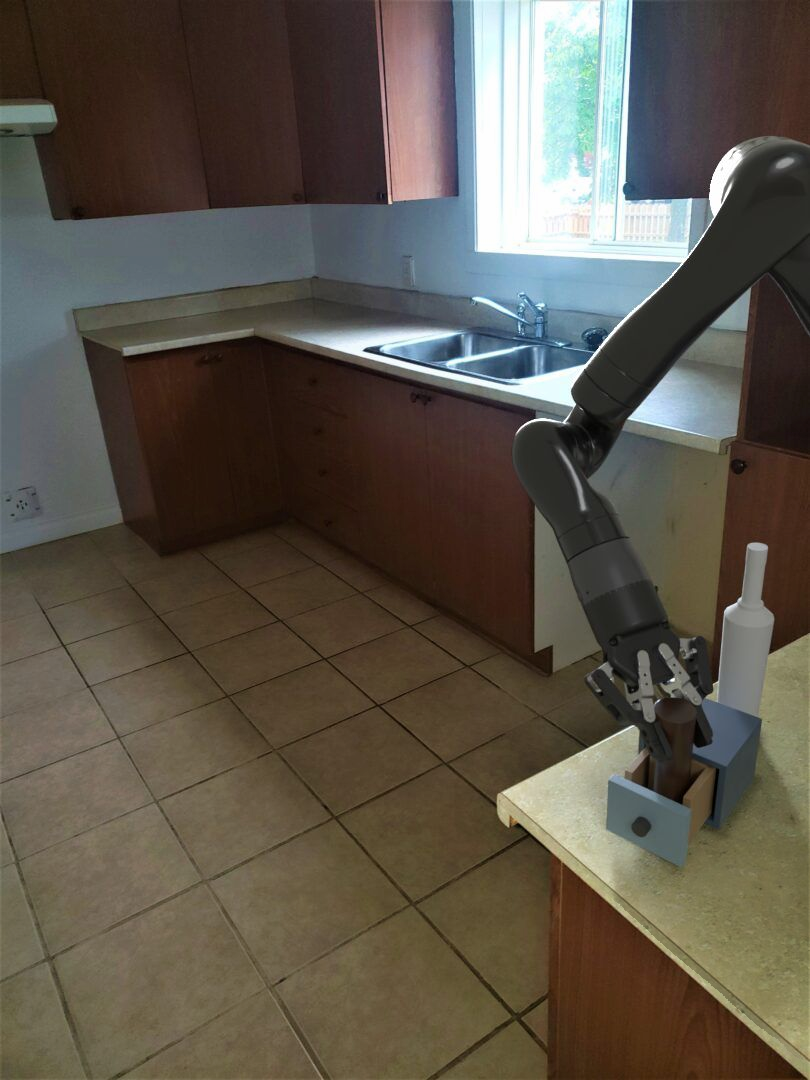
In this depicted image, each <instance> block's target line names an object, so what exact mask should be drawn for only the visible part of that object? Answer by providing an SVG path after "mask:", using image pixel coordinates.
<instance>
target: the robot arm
mask: <svg viewBox="0 0 810 1080" xmlns="http://www.w3.org/2000/svg"><path fill="white" fill-rule="evenodd" d="M709 200H710V201H709V202H710V208H711V212H712V215H713V218H712V220H711V222H710V223H709V225H708V227H707V228H706V230H705V231H704V233H703V234H702V236H701V238H700V239H699V241H698V242H697V244H696V245H695V247H694V248H693V249H692V250H691V252H690V253H689V254H688V256H687V257H686V258H685V259H684V261H683V262H682V263H681V264H680V266H679V267H678V268H677V269H676V270H675V271H674V272H673V273H672V275H671V276H669V278H668V279H667V280H666V281H664V283H662V285H660V287H658V289H656V290H655V291H654V292H653V293H652V294H651V295H650V296H648V297H647V298H646V299H645V300H644V301H642V303H641V304H639V305H638V306H637V307H636V308H634V310H632V311H631V312H630V313H629V314H628V315H627V316H626V317H625V318H624V319H623V320H622V321H621V322H620V323H619V324H618V325H617V326H616V327H615V328H614V329H613V331H612V332H611V333H610V334H608V337H606V339H605V340H603V342H602V344H601V345H600V346H599V347H598V349H597V350H596V351H595V353H593V355H592V356H591V357H590V359H589V360H588V361H587V362H586V364H585V365H584V366H583V367H582V369H581V370H580V371H579V373H578V374H577V375H576V377H575V378H574V380H573V381H572V384H571V387H570V395H571V397H572V400H573V402H574V403H575V404H574V406H573V407H572V409H571V411H570V413H569V414H568V415H567V417H566V418H565V419H564V420H563V421H560V420H559V421H558V420H555V419H547V418H538V419H532V420H530V421H527V422H526V423H524V424H523V425H522V426H520V427H519V429H518V430H517V431H516V432H515V435H514V437H513V440H512V443H511V452H510V455H511V462H512V467H513V471H514V473H515V475H516V477H517V479H518V481H519V483H520V485H521V486H522V488H523V490H524V491H525V493H526V495H527V496H528V497H529V499H530V500H531V502H532V503H533V504H534V506H535V507H536V509H537V511H539V513H540V514H541V516H542V517H543V518H544V519H545V521H546V522H547V523H548V524H549V526H550V528H551V529H552V531H553V534H554V536H555V539H556V542H557V544H558V546H559V549H560V551H561V554H562V556H563V558H564V561H565V563H566V566H567V569H568V572H569V575H570V579H571V582H572V586H573V588H574V590H575V593H576V597H577V599H578V602H579V603H580V605H581V607H582V610H583V613H584V615H585V617H586V619H587V622H588V624H589V626H590V629H591V632H592V633H593V636H594V638H595V641H596V643H597V645H599V647H600V648H601V650H602V664H601V665H600V666H599V667H598V668H596V669H595V670H593V671H591V672H590V673H587V674H586V675H585V676H584V677H583V682H584V684H585V685H586V687H587V688H588V689H589V690H590V691H591V693H592V694H593V695H594V697H595V698H596V699H597V701H598V702H599V703H600V704H601V706H602V707H603V708H604V709H605V711H606V712H607V713H608V714H609V716H610V717H611V718H612V719H613V721H614V722H615V723H616V725H618V726H634V727H636V728H637V730H638V731H639V732H640V733H641V736H642V738H643V740H644V743H645V745H646V748H647V750H648V752H649V754H650V755H651V757H652V758H656V760H657V761H658V762H659V763H661V762H665V761H668V760H671V759H673V758H674V755H673V752H672V750H671V748H670V745H669V743H668V741H667V738H666V736H665V734H664V731H663V729H662V727H661V724H660V722H659V721H657V722H655V718H656V716H655V710H654V699H653V698H654V696H655V691H654V690H655V689H654V685H659V686H660V687H661V688H662V690H663V691H664V692H666V693H667V694H669V695H670V697H671V696H672V697H674V698H680V699H683V700H686V701H688V702H690V703H691V704H692V705H693V706H694V707H695V709H696V712H697V714H696V724H695V735H694V745H695V746H696V747H697V748H701V747H705V746H708V745H710V744H712V743H713V741H712V738H711V737H713V731H712V728H711V726H710V724H709V722H708V720H707V717H706V715H705V713H704V711H703V708H702V701H703V699H704V698H706V697H708V696H709V695H711V694H713V693H714V690H715V689H714V688H715V687H714V682H713V677H712V669H711V663H710V658H709V652H708V645H707V641H706V638H705V637H703V636H702V635H697V636H696V637H693V638H684V637H683V638H682V637H679V636H678V634H676V632H674V631H673V629H671V627H670V624H669V618H668V613H667V611H666V609H665V607H664V605H663V603H662V600H661V598H660V596H659V594H658V591H657V589H656V587H655V585H654V583H653V580H652V579H651V577H650V574H649V572H648V569H647V567H646V565H645V563H644V560H643V559H642V557H641V555H640V553H639V552H638V550H637V548H636V547H635V545H634V544H633V542H632V540H631V538H630V535H629V533H628V531H627V529H626V527H625V524H624V522H623V520H622V518H621V516H620V513H619V511H618V510H617V507H616V506H615V504H614V502H613V501H612V499H611V498H610V497H609V496H608V495H606V494H604V493H603V492H601V491H598V489H595V488H594V487H593V485H591V484H590V482H589V479H590V478H591V477H592V476H593V475H594V474H595V473H597V472H598V470H599V469H600V468H601V467H602V466H603V464H604V463H605V461H606V459H607V458H608V456H609V454H610V453H611V451H612V449H613V447H614V445H615V444H616V442H617V440H618V439H619V436H620V434H621V432H622V430H623V429H624V426H625V424H626V423H627V420H628V419H629V418H630V417H631V416H632V415H633V414H634V413H635V412H636V411H637V409H638V408H639V407H640V406H641V405H642V404H643V403H644V401H646V400H647V398H648V397H649V396H650V395H651V394H652V392H653V391H654V390H655V389H656V387H657V386H659V384H660V383H661V381H662V380H663V379H664V378H665V377H666V376H667V374H669V372H670V371H671V370H672V369H673V367H675V365H676V364H677V363H678V362H679V360H681V358H682V357H683V356H684V355H685V354H686V352H688V351H689V349H690V348H691V347H692V346H693V345H694V344H695V343H696V342H697V341H698V340H699V339H700V338H701V337H702V335H704V333H705V332H706V331H708V329H710V327H712V325H713V324H714V323H715V322H716V321H717V320H718V319H719V318H720V317H721V316H722V315H724V314H725V312H727V311H728V310H729V309H730V308H731V307H732V306H733V305H734V304H735V303H736V302H738V300H739V299H740V298H741V297H742V296H743V295H744V294H746V293H747V292H748V291H749V290H750V289H751V288H752V287H753V286H754V285H756V283H757V282H759V281H760V280H761V279H762V278H763V277H764V276H766V275H767V274H768V275H769V276H770V278H771V279H772V280H773V282H775V283H776V285H777V286H778V287H779V289H780V290H781V291H782V293H783V294H784V295H785V297H786V299H787V301H788V302H789V304H790V305H791V307H792V309H793V311H794V312H795V314H796V316H797V318H798V319H799V321H800V323H801V324H802V326H803V329H804V330H805V332H806V333H807V335H808V336H809V337H810V145H809V144H807V143H803V142H801V141H798V140H796V139H795V140H794V139H792V138H789V137H784V136H777V135H768V136H767V135H765V136H758V137H754V138H750V139H748V140H745V141H743V142H740V143H738V144H737V145H735V146H733V148H731V149H730V150H728V152H726V154H725V155H724V156H723V157H722V159H721V160H720V161H719V163H718V165H717V167H716V169H715V171H714V172H713V176H712V180H711V183H710V192H709ZM679 655H680V658H681V659H683V660H684V663H685V669H686V670H685V669H684V667H683V666H682V664H681V663H680V662H679ZM613 675H614V676H615V677H617V678H618V679H619V680H620V681H621V682H622V683H623V687H624V693H625V696H624V694H623V693H622V692H621V691H620V690H619V688H618V687H617V686H616V684H615V677H614V676H613Z"/></svg>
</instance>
